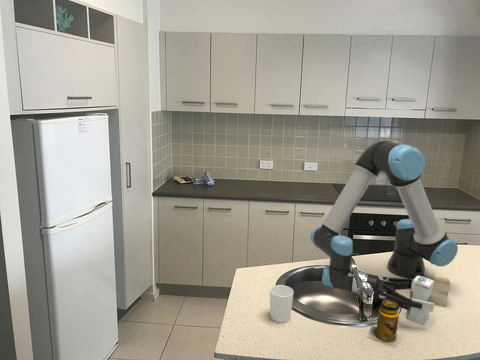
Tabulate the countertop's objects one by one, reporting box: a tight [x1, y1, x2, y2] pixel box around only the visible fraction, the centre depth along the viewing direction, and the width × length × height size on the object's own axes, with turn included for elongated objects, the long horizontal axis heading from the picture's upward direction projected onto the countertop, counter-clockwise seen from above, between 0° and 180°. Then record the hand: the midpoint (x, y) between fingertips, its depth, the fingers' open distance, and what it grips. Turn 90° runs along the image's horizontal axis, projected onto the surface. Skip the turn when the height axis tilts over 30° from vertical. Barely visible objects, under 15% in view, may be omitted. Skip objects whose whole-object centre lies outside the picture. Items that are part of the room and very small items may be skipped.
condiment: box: [367, 300, 400, 347], centre depth 125 cm, size 7×8×12 cm
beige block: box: [430, 273, 451, 308], centre depth 146 cm, size 5×5×10 cm
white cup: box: [269, 284, 294, 324], centre depth 133 cm, size 8×8×10 cm
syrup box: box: [405, 276, 434, 325], centre depth 134 cm, size 6×6×14 cm
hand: (432, 298), depth 133 cm, fingers open, 11 cm apart
